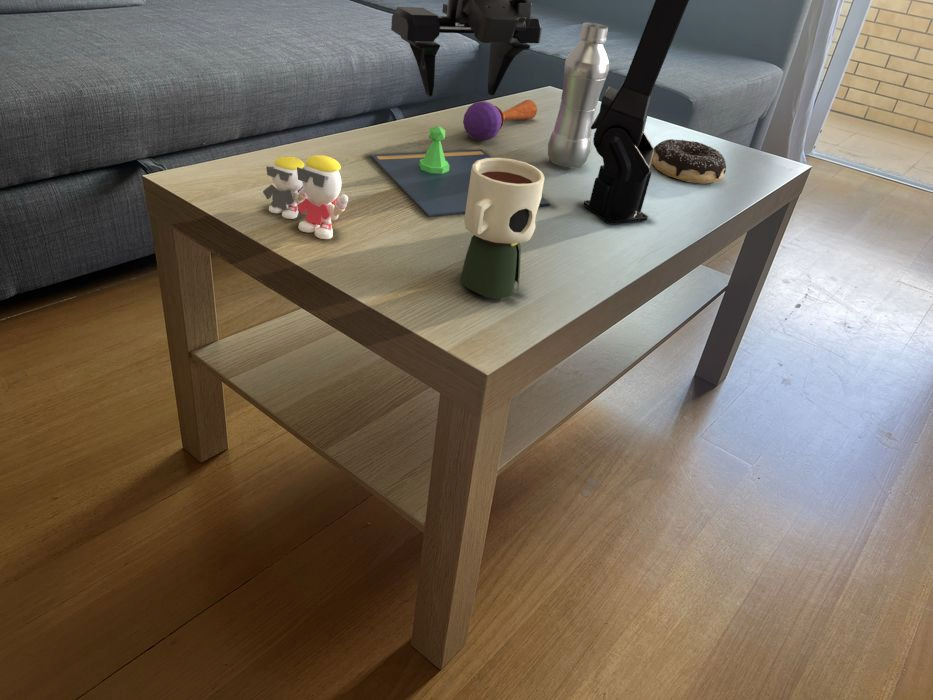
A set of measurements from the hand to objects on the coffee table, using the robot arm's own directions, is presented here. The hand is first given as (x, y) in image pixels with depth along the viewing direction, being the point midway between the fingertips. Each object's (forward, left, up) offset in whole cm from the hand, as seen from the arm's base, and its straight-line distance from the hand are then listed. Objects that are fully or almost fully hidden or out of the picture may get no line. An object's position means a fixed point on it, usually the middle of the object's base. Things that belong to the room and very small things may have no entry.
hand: (460, 95), depth 96 cm
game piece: (+2, -2, -11) cm, 11 cm away
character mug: (+10, +30, -11) cm, 33 cm away
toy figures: (+24, +11, -11) cm, 29 cm away
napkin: (0, +2, -11) cm, 11 cm away
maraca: (-17, -16, -11) cm, 26 cm away
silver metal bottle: (-20, -1, -11) cm, 23 cm away
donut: (-39, +5, -11) cm, 41 cm away
